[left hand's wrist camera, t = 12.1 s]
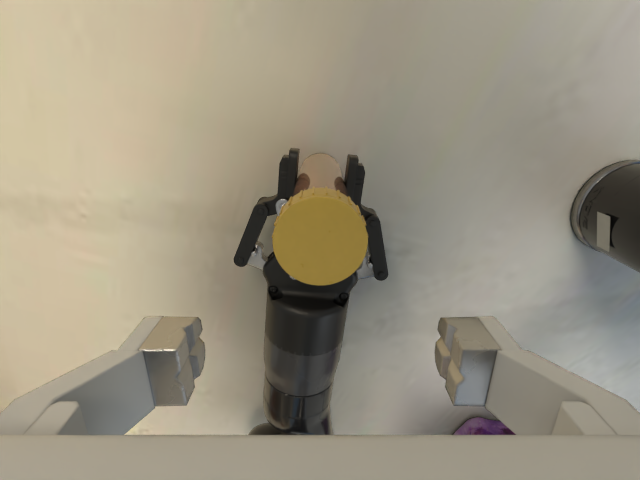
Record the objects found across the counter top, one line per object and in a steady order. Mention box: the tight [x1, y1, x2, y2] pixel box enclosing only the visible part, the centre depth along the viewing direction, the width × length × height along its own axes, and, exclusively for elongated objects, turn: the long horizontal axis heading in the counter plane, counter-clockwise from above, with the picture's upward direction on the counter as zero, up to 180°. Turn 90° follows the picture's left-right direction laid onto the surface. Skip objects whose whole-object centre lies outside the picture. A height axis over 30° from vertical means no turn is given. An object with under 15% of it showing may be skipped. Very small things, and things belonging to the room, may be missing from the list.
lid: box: [272, 187, 368, 285], centre depth 19 cm, size 5×5×2 cm
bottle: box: [292, 153, 348, 197], centre depth 27 cm, size 4×4×18 cm
